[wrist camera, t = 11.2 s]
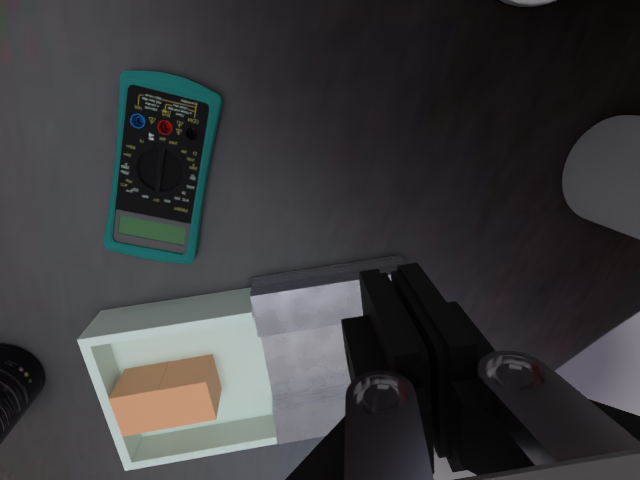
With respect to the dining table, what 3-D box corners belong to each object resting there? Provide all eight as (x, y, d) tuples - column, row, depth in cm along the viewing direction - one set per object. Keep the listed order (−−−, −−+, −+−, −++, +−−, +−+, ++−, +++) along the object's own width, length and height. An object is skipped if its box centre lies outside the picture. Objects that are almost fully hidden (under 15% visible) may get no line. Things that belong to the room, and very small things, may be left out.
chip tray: (254, 286, 38) (251, 312, 34) (276, 406, 43) (277, 443, 38) (101, 310, 37) (76, 339, 33) (141, 430, 42) (124, 470, 37)
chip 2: (212, 353, 38) (205, 381, 34) (221, 389, 39) (216, 419, 35) (169, 361, 38) (157, 390, 34) (179, 396, 39) (169, 428, 35)
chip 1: (168, 361, 38) (157, 390, 34) (179, 396, 39) (169, 428, 35) (125, 369, 37) (108, 398, 34) (137, 404, 39) (122, 436, 35)
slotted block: (399, 254, 39) (413, 271, 35) (407, 391, 44) (419, 418, 40) (252, 277, 38) (250, 296, 34) (278, 414, 43) (278, 444, 39)
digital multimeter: (226, 89, 33) (222, 87, 30) (197, 257, 37) (191, 270, 34) (131, 64, 32) (117, 60, 29) (112, 241, 36) (99, 253, 33)
